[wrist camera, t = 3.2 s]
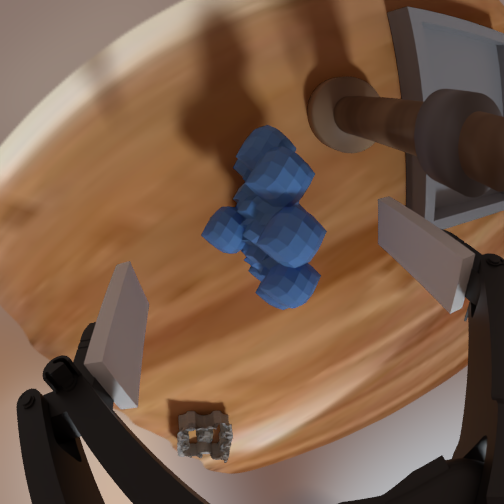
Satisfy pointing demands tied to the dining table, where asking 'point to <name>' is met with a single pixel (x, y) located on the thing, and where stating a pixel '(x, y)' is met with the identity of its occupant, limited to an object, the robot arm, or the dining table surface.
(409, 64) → the holder tray
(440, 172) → the post
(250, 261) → the grapes
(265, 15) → the dining table surface
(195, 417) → the egg carton
